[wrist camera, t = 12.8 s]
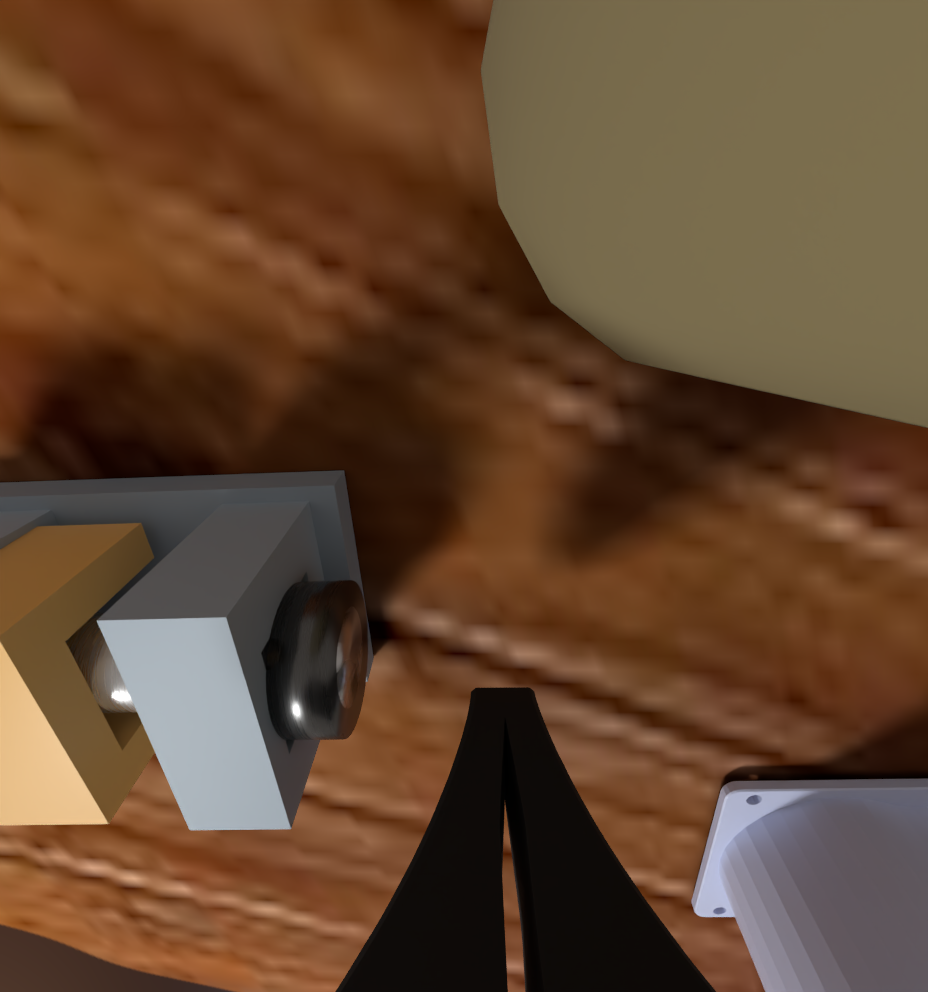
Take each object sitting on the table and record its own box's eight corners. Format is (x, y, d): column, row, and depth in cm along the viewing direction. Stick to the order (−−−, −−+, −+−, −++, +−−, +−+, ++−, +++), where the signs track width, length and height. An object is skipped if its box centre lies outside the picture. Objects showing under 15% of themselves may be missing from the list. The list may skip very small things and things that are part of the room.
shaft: (356, 552, 12) (316, 650, 9) (373, 659, 13) (344, 775, 10) (-133, 567, 12) (-334, 665, 9) (-67, 669, 14) (-222, 784, 11)
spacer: (141, 522, 12) (-3, 637, 8) (200, 680, 14) (108, 823, 11) (37, 526, 12) (-149, 641, 8) (113, 682, 14) (-8, 825, 11)
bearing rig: (344, 470, 13) (262, 596, 8) (373, 657, 16) (326, 840, 11) (-23, 483, 13) (-322, 611, 8) (67, 664, 16) (-118, 844, 11)
